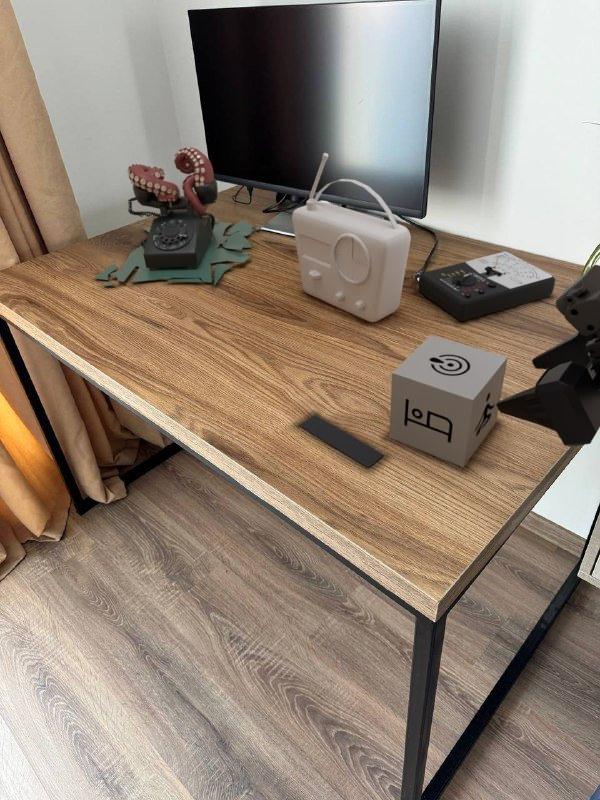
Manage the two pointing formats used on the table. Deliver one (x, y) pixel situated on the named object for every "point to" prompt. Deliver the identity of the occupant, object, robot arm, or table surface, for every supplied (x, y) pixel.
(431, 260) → the table surface
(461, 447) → the icon cube
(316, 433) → the felt mark
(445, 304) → the multimeter
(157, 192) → the telephone
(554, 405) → the robot arm
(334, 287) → the radio
